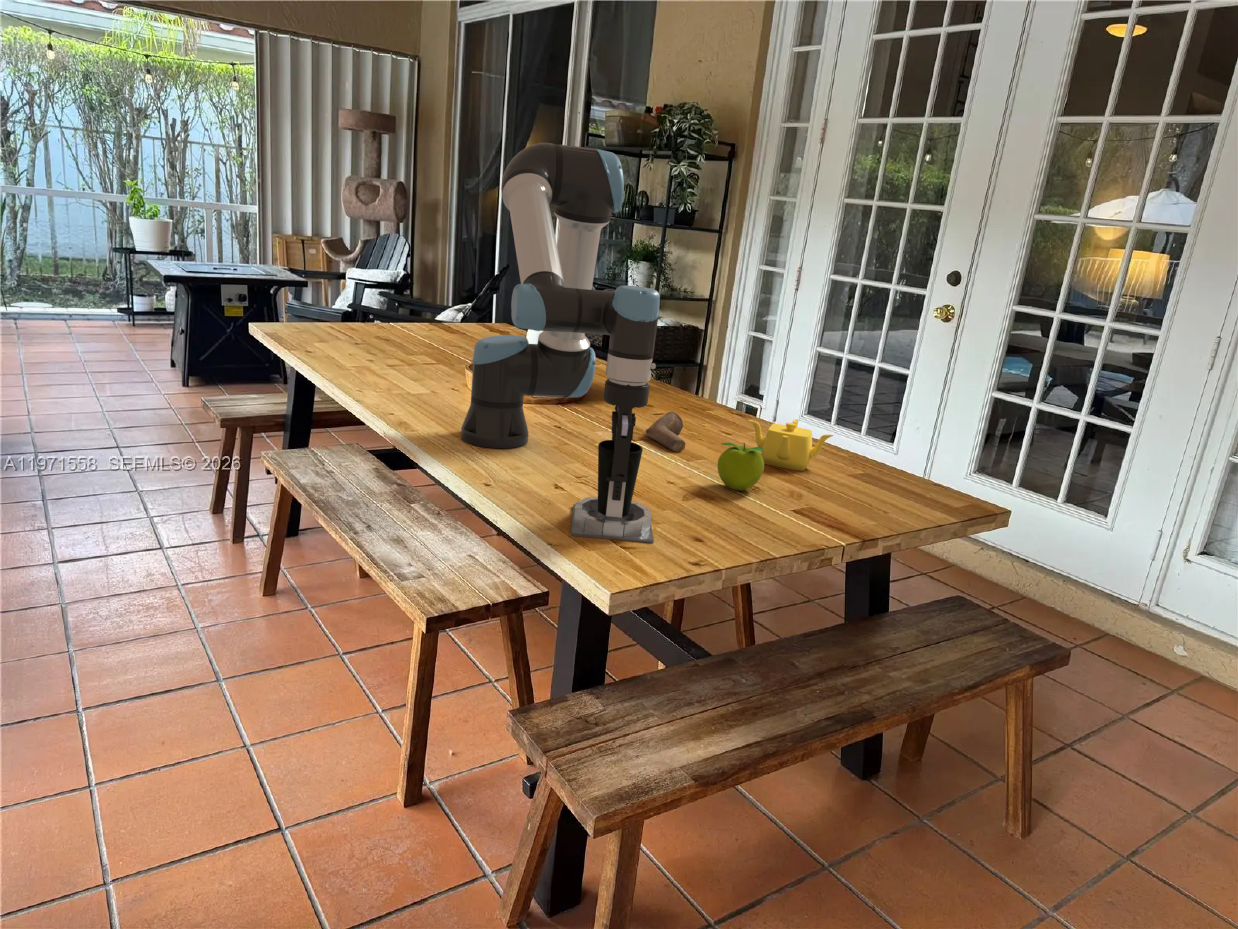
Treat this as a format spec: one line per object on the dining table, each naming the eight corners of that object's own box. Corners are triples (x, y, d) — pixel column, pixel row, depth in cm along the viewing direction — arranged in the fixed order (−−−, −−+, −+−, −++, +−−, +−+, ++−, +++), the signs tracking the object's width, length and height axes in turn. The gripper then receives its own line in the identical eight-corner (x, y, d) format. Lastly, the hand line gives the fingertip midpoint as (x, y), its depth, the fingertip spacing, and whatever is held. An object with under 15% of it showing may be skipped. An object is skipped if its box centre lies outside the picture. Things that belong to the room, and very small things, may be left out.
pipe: (672, 434, 194) (708, 426, 199) (637, 415, 208) (671, 408, 212) (672, 460, 197) (708, 451, 201) (637, 439, 210) (671, 431, 215)
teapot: (828, 471, 196) (835, 431, 193) (779, 474, 190) (786, 433, 187) (789, 452, 208) (795, 414, 205) (742, 454, 202) (748, 415, 199)
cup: (592, 517, 144) (599, 450, 140) (590, 502, 151) (597, 438, 148) (637, 520, 145) (645, 454, 141) (632, 505, 152) (640, 441, 149)
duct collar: (571, 535, 142) (572, 520, 141) (573, 506, 155) (574, 492, 154) (653, 543, 142) (655, 528, 142) (648, 513, 156) (650, 500, 155)
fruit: (749, 499, 170) (757, 452, 167) (708, 487, 174) (714, 441, 171) (766, 489, 178) (774, 444, 175) (726, 478, 182) (733, 433, 179)
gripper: (653, 396, 132) (637, 531, 138) (646, 370, 151) (632, 490, 158) (606, 391, 131) (591, 527, 138) (605, 366, 151) (592, 486, 157)
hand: (613, 507), depth 148 cm, fingers closed on cup, 8 cm apart
